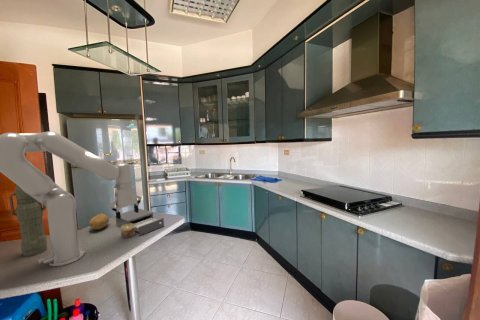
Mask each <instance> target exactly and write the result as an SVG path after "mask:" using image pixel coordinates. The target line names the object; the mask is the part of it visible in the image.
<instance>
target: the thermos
mask: <svg viewBox="0 0 480 320" xmlns="http://www.w3.org/2000/svg"><path fill="white" fill-rule="evenodd" d="M13 196H15V200H16V209H15V207H14V201H13ZM8 199H9V204H10V209H11V210H10V211H11V215H12V216H15V217H16V220H17V221H18V224H19V231H20V235H21V236H20V237H21V242H20V249H21V251H22V256H23V257H31V256H32V257H33V256H35V255H39V254H42V253H43V252H46V251H47V250H48V245H47V244H48V242H47V241H48V239H47V236H46V234H45V229H44V223H43V216H44V211H45V210H47V208H46V207H45V206H44V205H43V204H41V203H40V202H38V201H37V200H36V199H34V198H33V197H31V196H30V195H29V194H27V193H25V192H24V191H23V190H22V189H21V187H19V186H18V185H17V184H16V186H15V188H14V192H12V193H11V194H10V196H9V198H8Z"/></svg>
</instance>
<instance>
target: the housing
mask: <svg viewBox="0 0 480 320" xmlns="http://www.w3.org/2000/svg"><path fill="white" fill-rule="evenodd" d="M120 215H121V219H118V218H116V217H115V224H116V227H119V228H120V227H121V226H122V225H124V224H129V223H133V224H134V223H137V222H140V221H143V220H146V219H149V218H153V219H154V213H153V212H152V211H149V210H145V209H143V208H139V211H138V213H136V212H135V211H134V210H131V211H127V212H124V213H120Z"/></svg>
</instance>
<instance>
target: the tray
mask: <svg viewBox="0 0 480 320" xmlns="http://www.w3.org/2000/svg"><path fill="white" fill-rule="evenodd" d="M134 224H135V232H138V235H139V236H142V235H145V234H147V233H150V232H152V231H155V230H157V229H159V228H163V227H164V226H165V220H164V217H162V218H159V219H155V218H154V217H153V218H149V219H146V220H143V221H140V222H137V223H134Z"/></svg>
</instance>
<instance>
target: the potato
mask: <svg viewBox="0 0 480 320" xmlns="http://www.w3.org/2000/svg"><path fill="white" fill-rule="evenodd" d="M108 223H109V216H108V215H107V214H105V213H98V214H97V215H95V216H93V217H92V218H91V219H90V220H89V222H88V225H89V227H90V228H91V229H93V230H97V231H99V230H101V229H103V228H105V227H106V226H107V224H108Z"/></svg>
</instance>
